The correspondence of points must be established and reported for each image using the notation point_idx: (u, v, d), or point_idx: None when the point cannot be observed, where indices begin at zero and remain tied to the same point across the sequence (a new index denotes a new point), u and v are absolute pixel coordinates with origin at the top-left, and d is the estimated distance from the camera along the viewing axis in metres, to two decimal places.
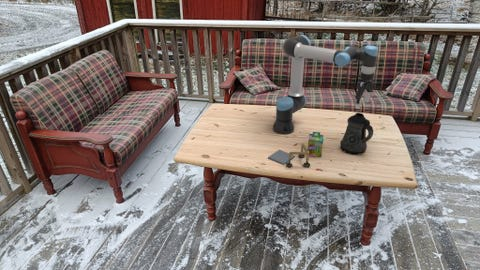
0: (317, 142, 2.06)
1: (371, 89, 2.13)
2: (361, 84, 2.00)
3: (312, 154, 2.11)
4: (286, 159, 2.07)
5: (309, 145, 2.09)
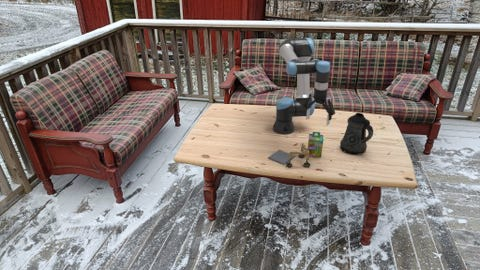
0: (317, 142, 2.06)
1: (331, 113, 1.95)
2: None
3: (312, 154, 2.11)
4: (286, 159, 2.07)
5: (309, 145, 2.09)
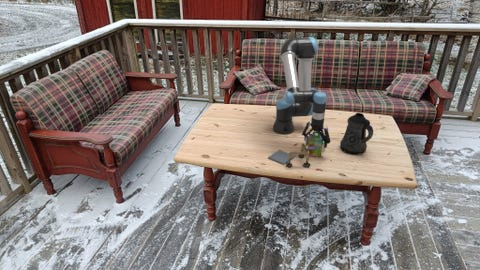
0: (317, 142, 2.06)
1: (326, 141, 2.04)
2: None
3: (312, 154, 2.11)
4: (286, 159, 2.07)
5: (309, 145, 2.09)
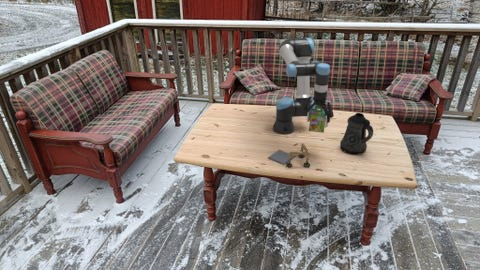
0: (320, 116, 1.98)
1: (329, 116, 1.96)
2: None
3: (314, 129, 2.03)
4: (286, 159, 2.07)
5: (311, 120, 2.01)
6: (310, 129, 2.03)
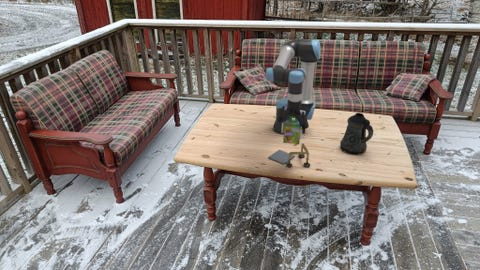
0: (294, 127, 1.85)
1: (304, 126, 1.83)
2: None
3: (289, 141, 1.90)
4: (286, 159, 2.07)
5: (285, 131, 1.87)
6: (284, 141, 1.90)
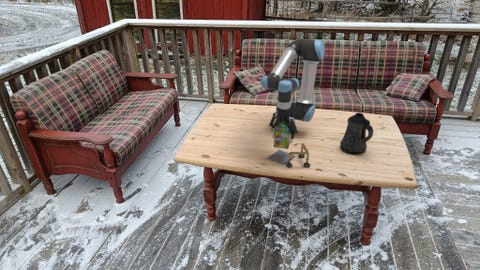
0: (283, 133, 1.98)
1: (293, 132, 1.96)
2: None
3: (279, 146, 2.02)
4: (286, 159, 2.07)
5: (275, 136, 2.00)
6: (275, 145, 2.03)
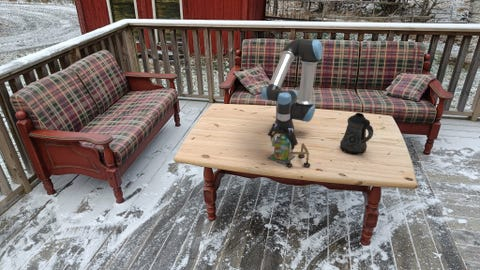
0: (283, 145, 2.02)
1: (293, 143, 1.98)
2: None
3: (279, 157, 2.06)
4: None
5: (275, 148, 2.04)
6: (274, 157, 2.07)
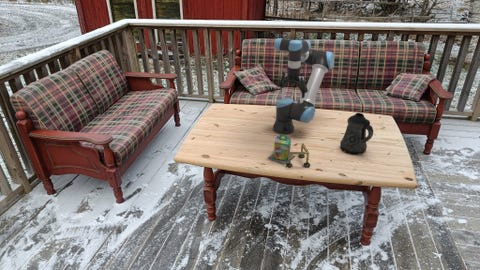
0: (283, 145, 2.02)
1: (304, 91, 2.02)
2: None
3: (279, 157, 2.06)
4: None
5: (275, 148, 2.04)
6: (274, 157, 2.07)
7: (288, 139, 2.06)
